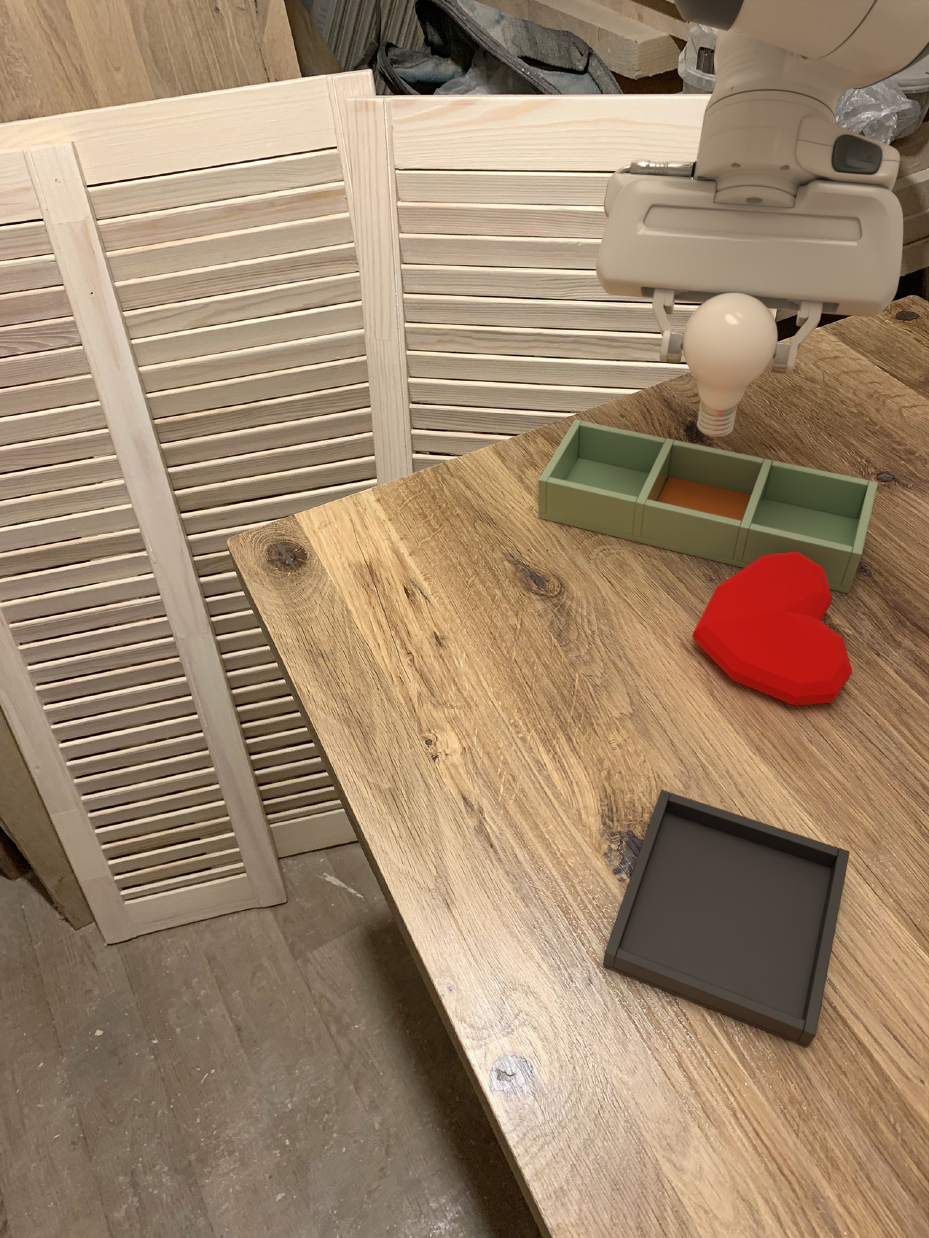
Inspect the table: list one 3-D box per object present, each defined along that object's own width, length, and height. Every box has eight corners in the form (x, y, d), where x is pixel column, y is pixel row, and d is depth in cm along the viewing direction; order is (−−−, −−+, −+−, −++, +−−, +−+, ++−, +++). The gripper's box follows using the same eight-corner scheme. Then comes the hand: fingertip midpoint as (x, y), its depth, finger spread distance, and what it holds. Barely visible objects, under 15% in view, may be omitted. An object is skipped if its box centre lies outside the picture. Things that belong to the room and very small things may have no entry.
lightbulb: (704, 398, 73) (724, 266, 65) (774, 430, 70) (804, 295, 62) (654, 435, 70) (668, 302, 62) (724, 470, 67) (749, 334, 59)
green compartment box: (864, 521, 75) (878, 481, 72) (848, 594, 70) (862, 554, 67) (573, 457, 83) (574, 419, 80) (538, 518, 78) (538, 479, 75)
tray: (841, 866, 55) (849, 850, 54) (807, 1048, 48) (815, 1035, 47) (658, 805, 59) (661, 788, 57) (602, 966, 52) (604, 952, 51)
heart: (703, 723, 65) (852, 711, 63) (706, 695, 61) (864, 681, 60) (679, 584, 71) (814, 570, 70) (681, 551, 68) (822, 535, 66)
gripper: (607, 137, 64) (574, 340, 65) (927, 153, 59) (886, 371, 60) (614, 177, 70) (584, 362, 71) (904, 194, 65) (868, 391, 66)
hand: (725, 366), depth 65 cm, fingers closed on lightbulb, 6 cm apart
